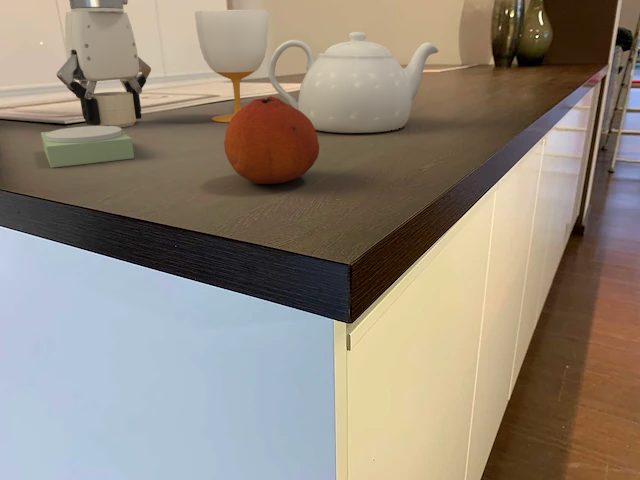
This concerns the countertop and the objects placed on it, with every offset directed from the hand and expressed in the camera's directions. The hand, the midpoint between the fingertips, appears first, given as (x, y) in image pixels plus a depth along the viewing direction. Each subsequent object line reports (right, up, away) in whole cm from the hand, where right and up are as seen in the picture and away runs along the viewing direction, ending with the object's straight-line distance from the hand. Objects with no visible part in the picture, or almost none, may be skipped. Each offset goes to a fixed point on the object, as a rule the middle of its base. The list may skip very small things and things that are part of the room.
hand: (114, 120), depth 88 cm
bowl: (0, -1, 0) cm, 1 cm away
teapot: (+39, -2, -5) cm, 39 cm away
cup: (+20, +1, +5) cm, 20 cm away
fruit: (+29, -14, -36) cm, 48 cm away
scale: (+5, -9, -22) cm, 24 cm away
